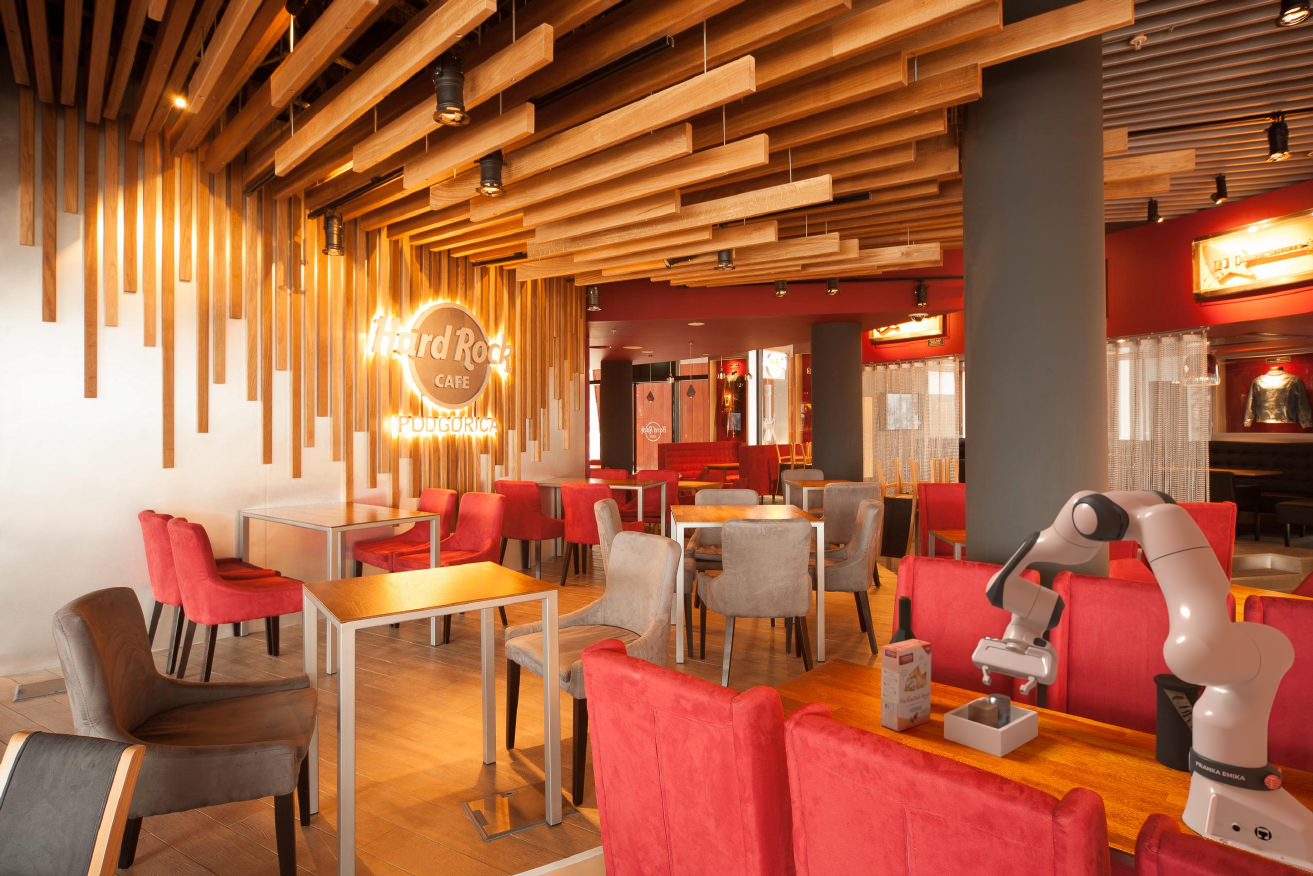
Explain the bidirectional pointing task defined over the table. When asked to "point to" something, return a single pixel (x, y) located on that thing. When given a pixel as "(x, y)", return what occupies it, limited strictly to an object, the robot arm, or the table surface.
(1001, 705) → the charcoal tin
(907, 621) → the wine bottle
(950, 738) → the box
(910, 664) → the cracker box
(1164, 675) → the container
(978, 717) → the walnut block
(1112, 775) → the table surface
